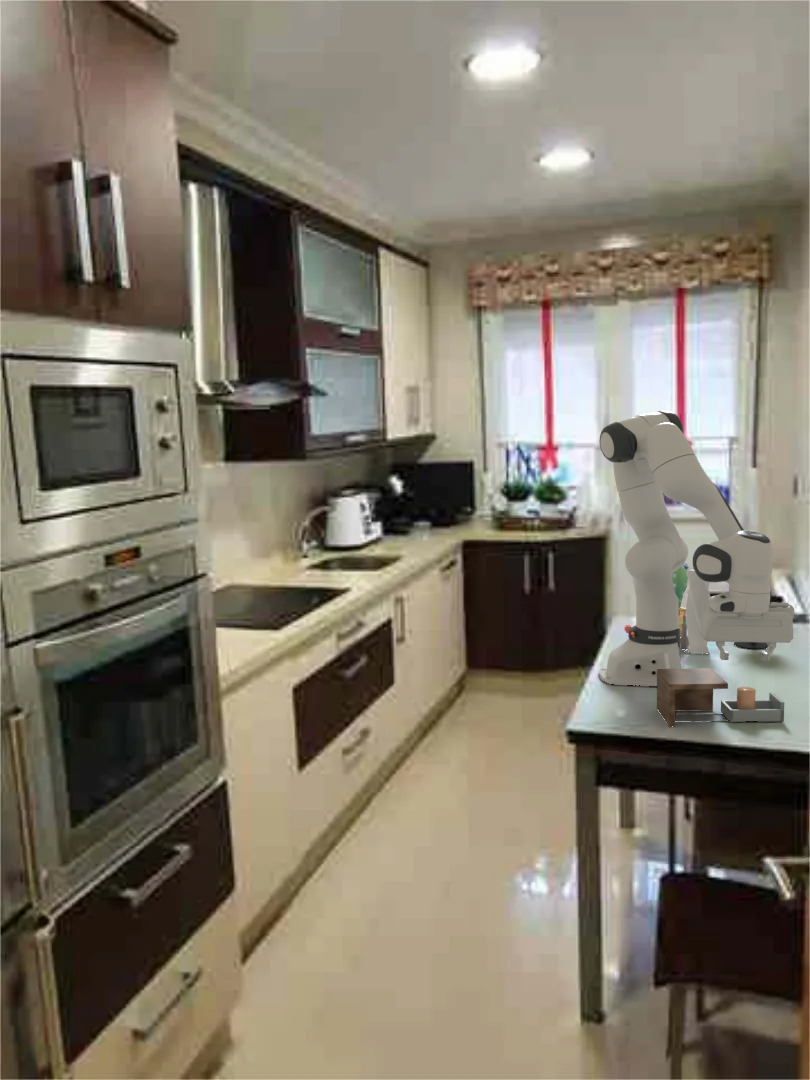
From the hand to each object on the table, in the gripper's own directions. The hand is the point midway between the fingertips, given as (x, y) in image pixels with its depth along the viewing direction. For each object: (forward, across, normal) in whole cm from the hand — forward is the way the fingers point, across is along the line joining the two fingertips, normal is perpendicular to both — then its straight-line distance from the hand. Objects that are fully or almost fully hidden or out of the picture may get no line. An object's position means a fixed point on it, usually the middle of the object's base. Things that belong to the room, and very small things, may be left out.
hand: (744, 659), depth 192 cm
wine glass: (+15, -24, -62) cm, 68 cm away
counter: (+14, +5, +1) cm, 15 cm away
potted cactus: (+16, -4, -76) cm, 78 cm away
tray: (+14, -2, +1) cm, 14 cm away
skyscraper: (+16, -6, -56) cm, 58 cm away
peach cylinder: (+13, -1, +1) cm, 13 cm away
